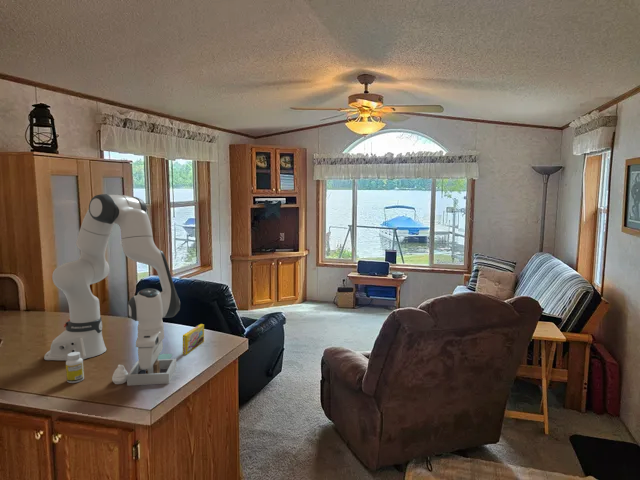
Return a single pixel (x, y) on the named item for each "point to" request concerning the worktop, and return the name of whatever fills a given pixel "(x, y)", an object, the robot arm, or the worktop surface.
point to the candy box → (193, 339)
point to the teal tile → (164, 356)
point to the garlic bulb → (120, 375)
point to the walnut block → (155, 367)
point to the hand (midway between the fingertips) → (152, 371)
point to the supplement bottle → (74, 367)
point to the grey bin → (152, 374)
